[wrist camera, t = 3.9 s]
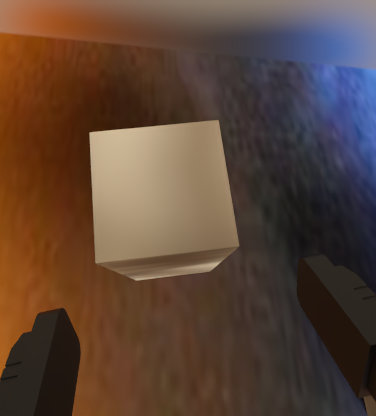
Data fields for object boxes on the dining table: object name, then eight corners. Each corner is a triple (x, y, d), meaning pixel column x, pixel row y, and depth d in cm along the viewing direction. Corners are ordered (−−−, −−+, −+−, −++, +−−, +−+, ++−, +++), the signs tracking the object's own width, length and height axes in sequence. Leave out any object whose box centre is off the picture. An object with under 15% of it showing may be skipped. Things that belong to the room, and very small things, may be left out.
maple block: (136, 280, 20) (95, 263, 10) (130, 209, 21) (89, 132, 11) (210, 271, 20) (239, 246, 10) (200, 201, 21) (218, 120, 11)
